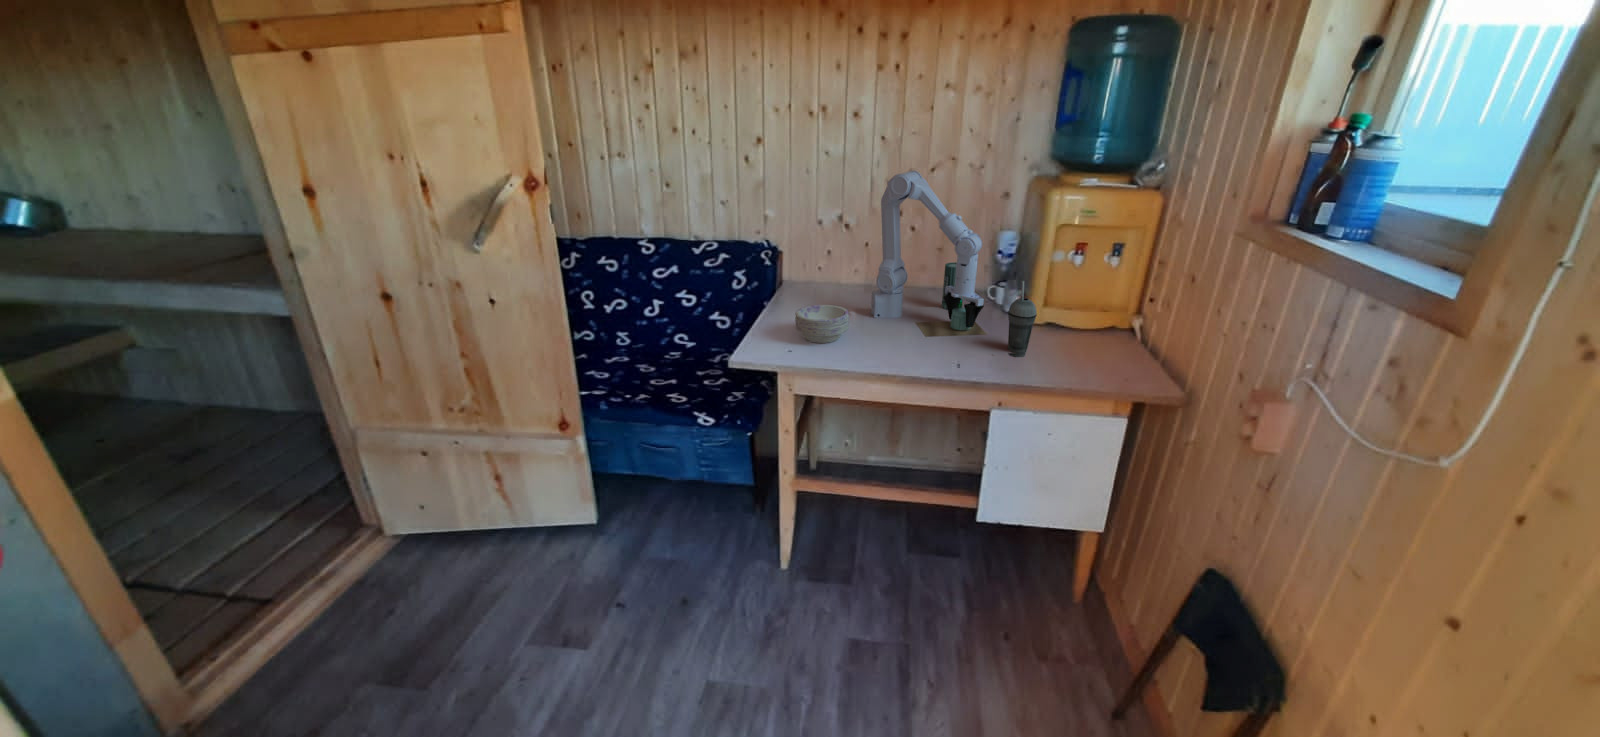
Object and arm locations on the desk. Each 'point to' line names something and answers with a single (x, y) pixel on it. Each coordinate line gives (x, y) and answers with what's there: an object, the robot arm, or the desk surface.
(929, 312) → the desk surface
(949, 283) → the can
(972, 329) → the board
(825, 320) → the paper bowls
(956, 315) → the cap
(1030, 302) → the beverage cup
